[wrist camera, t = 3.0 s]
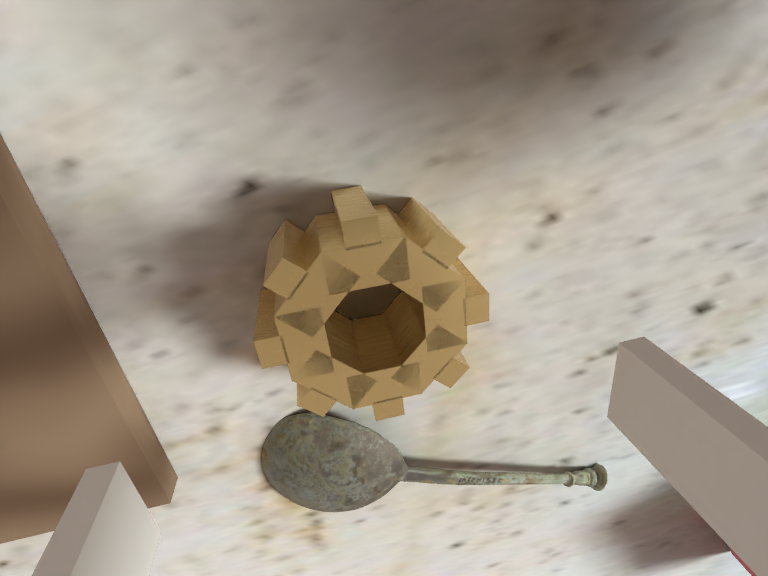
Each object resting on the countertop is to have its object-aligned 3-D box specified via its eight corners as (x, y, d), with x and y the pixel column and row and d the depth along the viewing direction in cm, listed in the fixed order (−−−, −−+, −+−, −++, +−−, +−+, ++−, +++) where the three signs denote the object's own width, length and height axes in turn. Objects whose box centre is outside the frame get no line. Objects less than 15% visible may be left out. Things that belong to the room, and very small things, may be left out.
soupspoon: (272, 383, 22) (250, 468, 25) (264, 434, 19) (241, 524, 22) (617, 433, 28) (567, 498, 31) (652, 478, 25) (594, 546, 28)
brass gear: (236, 206, 17) (221, 242, 13) (449, 170, 18) (488, 195, 14) (286, 378, 21) (285, 441, 17) (457, 342, 22) (489, 394, 18)
